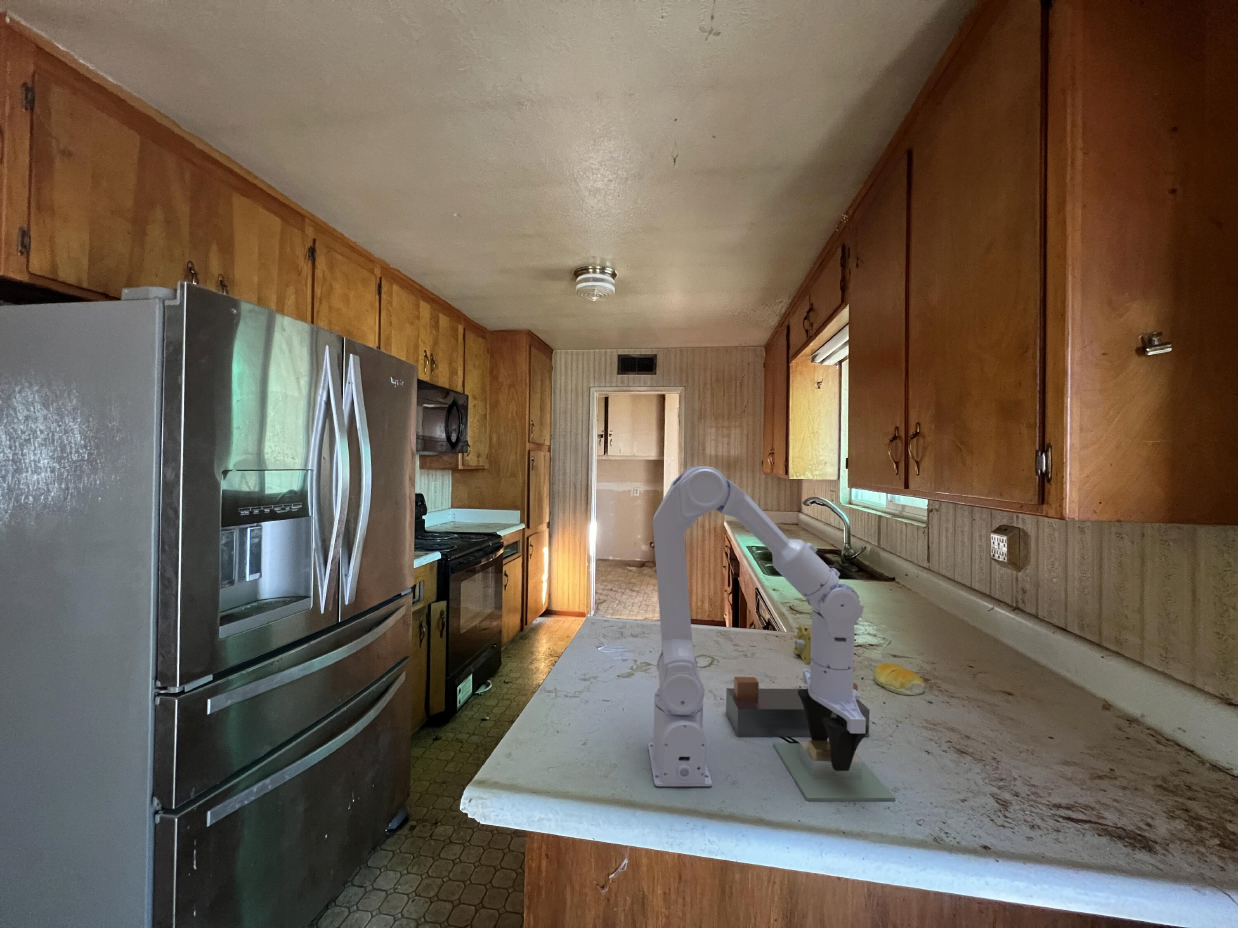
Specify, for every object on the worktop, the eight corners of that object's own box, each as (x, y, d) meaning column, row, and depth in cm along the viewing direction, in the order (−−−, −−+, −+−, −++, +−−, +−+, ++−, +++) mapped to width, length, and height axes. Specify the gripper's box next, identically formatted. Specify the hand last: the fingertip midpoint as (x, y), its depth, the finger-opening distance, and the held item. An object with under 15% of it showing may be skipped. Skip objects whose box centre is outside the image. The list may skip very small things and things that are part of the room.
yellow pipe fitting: (821, 651, 114) (782, 646, 113) (829, 611, 113) (790, 605, 113) (849, 678, 101) (806, 672, 101) (858, 633, 101) (815, 627, 100)
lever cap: (861, 778, 65) (862, 754, 65) (813, 778, 65) (813, 754, 65) (844, 758, 70) (845, 735, 70) (799, 758, 70) (799, 735, 70)
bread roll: (895, 674, 101) (895, 656, 101) (931, 694, 92) (932, 674, 92) (863, 677, 99) (863, 658, 99) (897, 698, 90) (897, 677, 90)
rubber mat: (895, 800, 62) (895, 797, 62) (806, 800, 61) (806, 797, 61) (847, 745, 74) (847, 743, 74) (773, 745, 73) (773, 743, 73)
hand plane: (868, 736, 76) (870, 690, 76) (737, 736, 75) (738, 689, 75) (846, 713, 83) (847, 671, 83) (725, 713, 82) (726, 670, 82)
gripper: (889, 685, 60) (886, 789, 60) (833, 642, 75) (831, 726, 75) (836, 684, 60) (833, 789, 60) (790, 642, 75) (788, 726, 75)
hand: (829, 754), depth 67 cm, fingers open, 6 cm apart
